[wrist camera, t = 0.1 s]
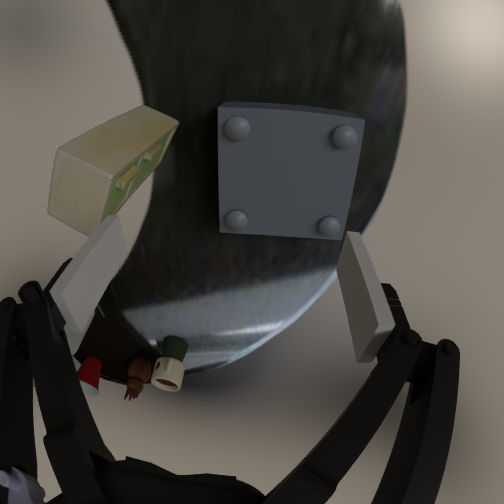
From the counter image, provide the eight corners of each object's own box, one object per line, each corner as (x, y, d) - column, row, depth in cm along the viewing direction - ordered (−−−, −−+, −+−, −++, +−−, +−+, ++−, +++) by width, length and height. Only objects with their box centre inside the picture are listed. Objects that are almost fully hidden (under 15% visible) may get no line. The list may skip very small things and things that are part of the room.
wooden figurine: (129, 353, 76) (115, 395, 64) (145, 353, 75) (131, 397, 63) (141, 365, 80) (129, 406, 68) (156, 365, 79) (144, 408, 67)
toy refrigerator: (163, 167, 42) (100, 244, 26) (125, 148, 40) (45, 213, 24) (185, 124, 38) (119, 178, 21) (143, 104, 36) (55, 145, 19)
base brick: (225, 101, 36) (216, 108, 30) (352, 112, 36) (367, 121, 30) (225, 212, 47) (218, 236, 41) (334, 219, 46) (343, 243, 41)
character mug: (164, 326, 66) (150, 370, 56) (192, 333, 67) (181, 379, 57) (162, 348, 72) (151, 389, 62) (187, 355, 73) (178, 397, 63)
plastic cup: (110, 372, 87) (100, 400, 77) (84, 362, 85) (73, 389, 76) (107, 358, 80) (95, 388, 71) (79, 347, 79) (66, 376, 69)
